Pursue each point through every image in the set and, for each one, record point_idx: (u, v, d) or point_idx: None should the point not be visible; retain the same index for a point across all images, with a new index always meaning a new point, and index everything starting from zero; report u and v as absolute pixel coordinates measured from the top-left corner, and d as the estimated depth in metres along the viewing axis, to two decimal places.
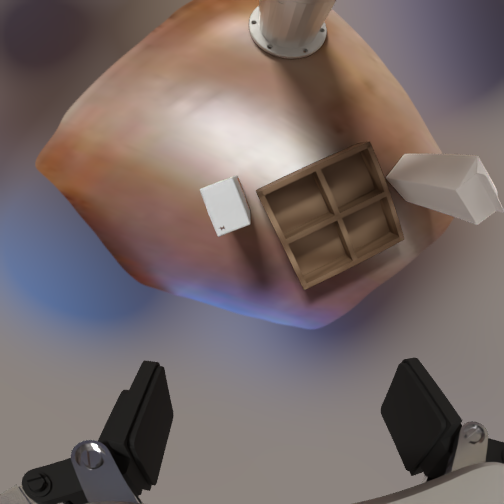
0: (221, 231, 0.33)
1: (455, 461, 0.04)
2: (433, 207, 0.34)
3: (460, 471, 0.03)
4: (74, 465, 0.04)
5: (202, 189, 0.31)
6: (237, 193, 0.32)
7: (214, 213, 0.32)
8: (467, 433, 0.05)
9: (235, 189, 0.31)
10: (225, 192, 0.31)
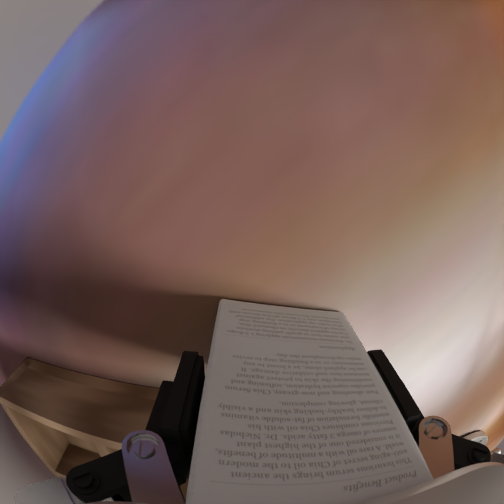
0: None
1: None
2: None
3: (459, 471, 0.03)
4: (127, 456, 0.05)
5: None
6: None
7: None
8: (427, 429, 0.06)
9: None
10: None
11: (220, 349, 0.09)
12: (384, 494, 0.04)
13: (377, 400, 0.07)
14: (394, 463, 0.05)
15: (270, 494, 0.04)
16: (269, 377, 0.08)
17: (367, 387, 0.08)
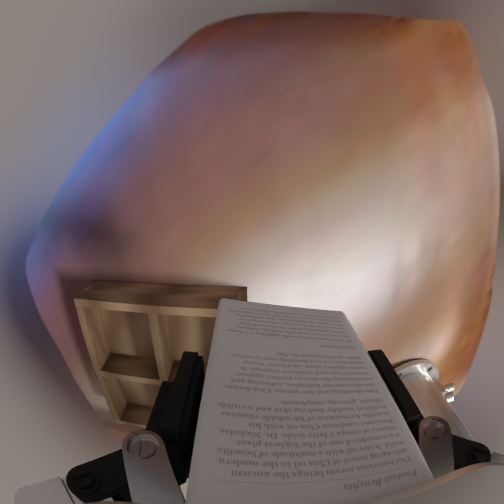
0: None
1: None
2: None
3: (459, 471, 0.03)
4: (127, 456, 0.05)
5: None
6: None
7: None
8: (427, 429, 0.06)
9: None
10: None
11: (220, 348, 0.09)
12: (384, 493, 0.04)
13: (377, 399, 0.07)
14: (394, 462, 0.05)
15: (270, 492, 0.04)
16: (269, 376, 0.08)
17: (367, 386, 0.08)
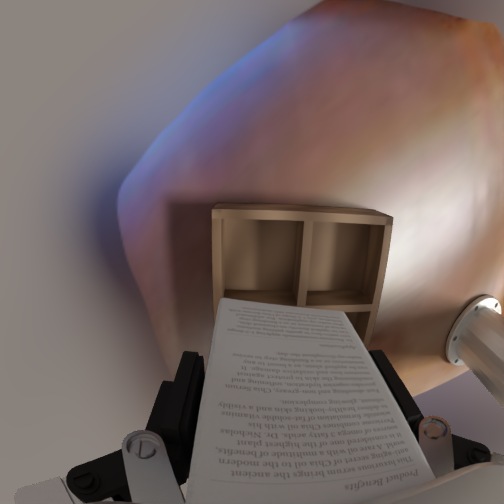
0: None
1: None
2: None
3: (460, 471, 0.03)
4: (127, 456, 0.05)
5: None
6: None
7: None
8: (427, 429, 0.06)
9: None
10: None
11: (220, 348, 0.09)
12: (385, 493, 0.04)
13: (378, 398, 0.07)
14: (395, 462, 0.05)
15: (271, 493, 0.04)
16: (269, 376, 0.08)
17: (368, 385, 0.08)
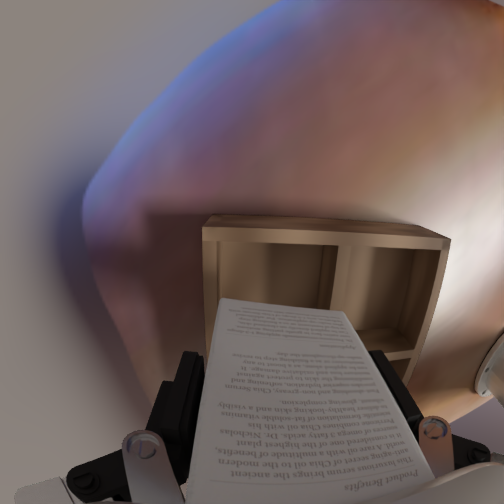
0: None
1: None
2: None
3: (460, 471, 0.03)
4: (127, 456, 0.05)
5: None
6: None
7: None
8: (427, 429, 0.06)
9: None
10: None
11: (220, 348, 0.09)
12: (385, 493, 0.04)
13: (378, 399, 0.07)
14: (395, 462, 0.05)
15: (270, 493, 0.04)
16: (269, 376, 0.08)
17: (368, 386, 0.08)
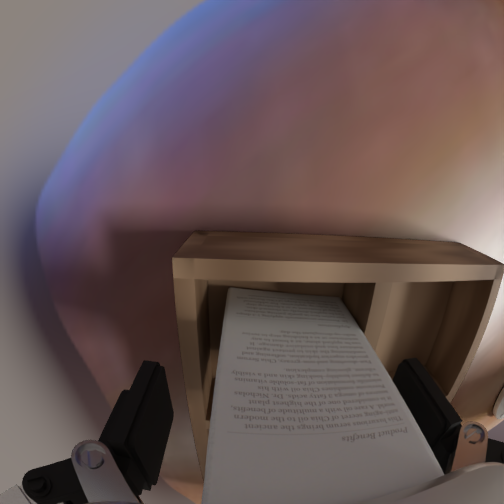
0: None
1: (455, 461, 0.04)
2: None
3: (459, 471, 0.03)
4: (74, 465, 0.04)
5: None
6: None
7: None
8: (467, 433, 0.05)
9: None
10: None
11: (231, 328, 0.10)
12: (378, 445, 0.05)
13: (370, 368, 0.09)
14: (386, 420, 0.06)
15: (278, 442, 0.06)
16: (275, 349, 0.09)
17: (361, 357, 0.09)
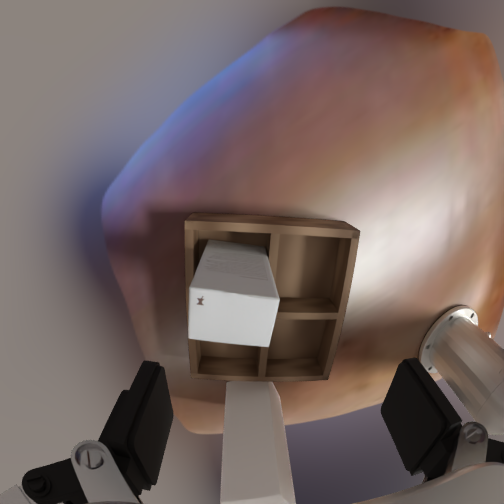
0: (196, 297, 0.18)
1: (455, 461, 0.04)
2: (230, 433, 0.27)
3: (460, 471, 0.03)
4: (74, 465, 0.04)
5: (277, 303, 0.18)
6: (242, 343, 0.19)
7: (230, 302, 0.18)
8: (467, 433, 0.05)
9: (248, 344, 0.19)
10: (253, 331, 0.19)
11: (207, 250, 0.25)
12: (252, 280, 0.21)
13: (262, 265, 0.24)
14: (260, 276, 0.21)
15: (218, 273, 0.21)
16: (224, 256, 0.24)
17: (260, 262, 0.24)
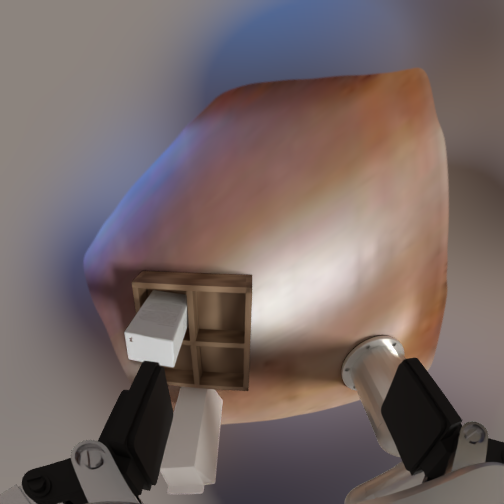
0: (128, 337, 0.29)
1: (455, 461, 0.04)
2: (174, 423, 0.38)
3: (459, 471, 0.03)
4: (74, 465, 0.04)
5: (172, 343, 0.29)
6: None
7: (146, 341, 0.29)
8: (467, 433, 0.05)
9: (161, 365, 0.30)
10: (162, 358, 0.30)
11: (147, 301, 0.36)
12: (163, 326, 0.31)
13: (177, 314, 0.35)
14: (170, 323, 0.32)
15: (144, 321, 0.32)
16: (155, 306, 0.35)
17: (177, 311, 0.35)
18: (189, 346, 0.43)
